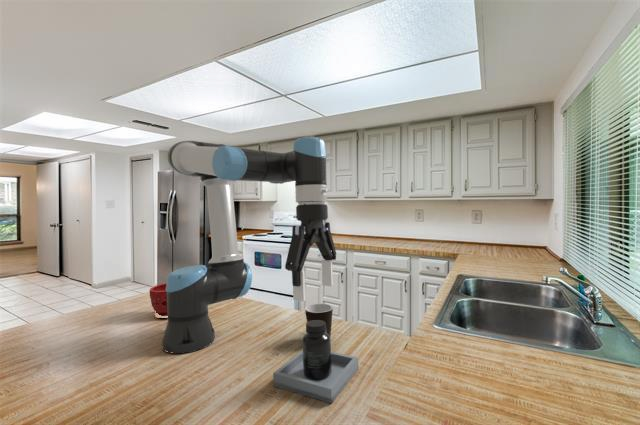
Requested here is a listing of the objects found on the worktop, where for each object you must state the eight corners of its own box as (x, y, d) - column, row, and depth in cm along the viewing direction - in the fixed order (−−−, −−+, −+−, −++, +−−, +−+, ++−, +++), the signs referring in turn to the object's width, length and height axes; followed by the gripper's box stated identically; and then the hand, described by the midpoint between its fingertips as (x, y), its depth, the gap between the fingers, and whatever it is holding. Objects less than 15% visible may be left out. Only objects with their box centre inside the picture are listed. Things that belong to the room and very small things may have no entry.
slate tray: (273, 385, 71) (273, 373, 71) (307, 357, 84) (306, 346, 84) (331, 403, 64) (331, 389, 64) (358, 369, 77) (358, 357, 77)
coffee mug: (331, 347, 90) (330, 313, 89) (302, 345, 91) (301, 312, 91) (337, 331, 101) (336, 301, 101) (311, 330, 103) (310, 300, 102)
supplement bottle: (309, 364, 78) (308, 317, 78) (335, 367, 76) (333, 319, 76) (299, 378, 72) (297, 327, 72) (326, 382, 69) (324, 330, 69)
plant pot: (156, 312, 127) (154, 283, 127) (189, 308, 130) (188, 280, 130) (146, 323, 114) (144, 291, 114) (184, 319, 118) (182, 288, 117)
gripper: (296, 203, 60) (300, 310, 61) (347, 203, 82) (349, 281, 83) (266, 204, 64) (269, 305, 64) (322, 204, 86) (325, 279, 86)
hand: (314, 292), depth 73 cm, fingers open, 13 cm apart
